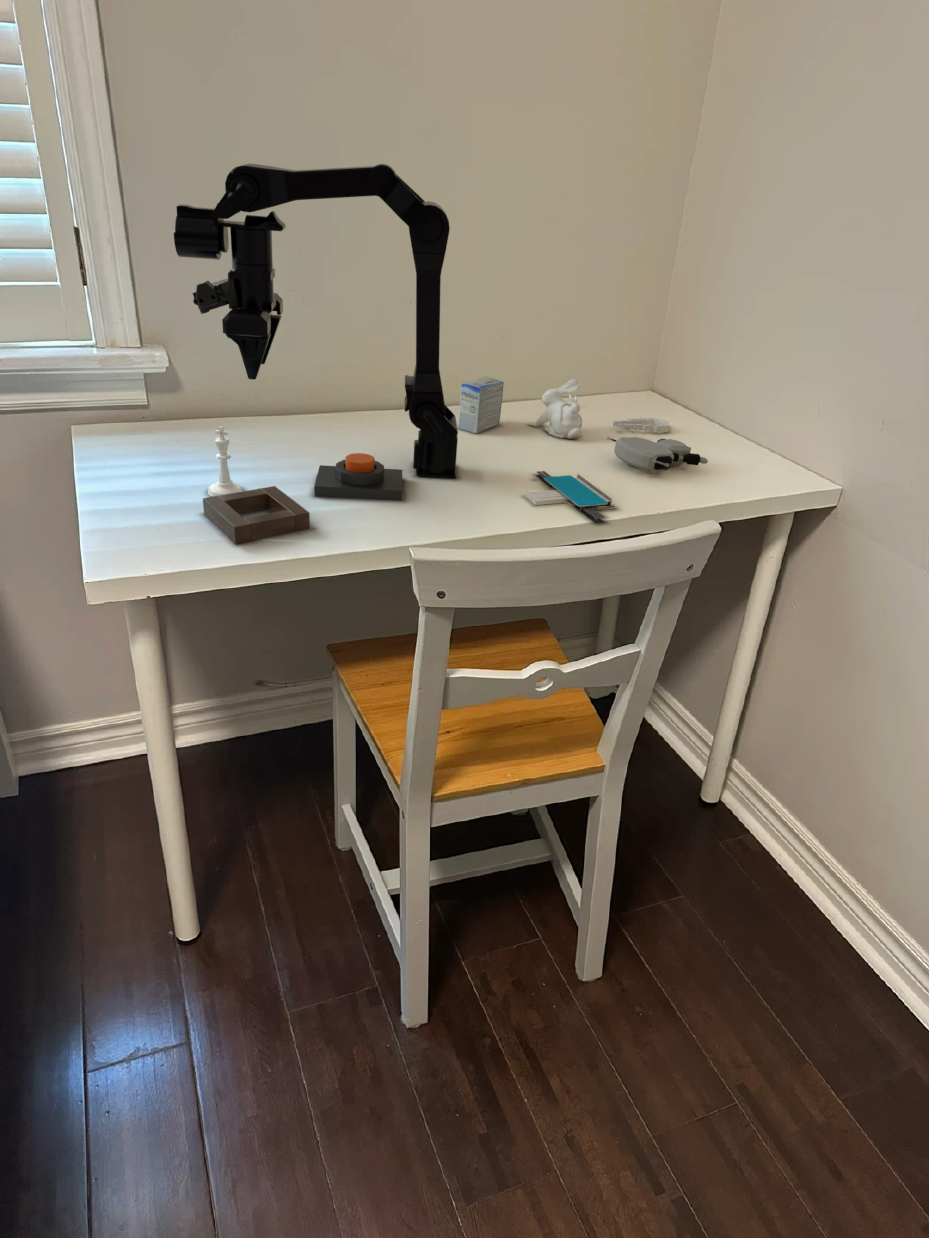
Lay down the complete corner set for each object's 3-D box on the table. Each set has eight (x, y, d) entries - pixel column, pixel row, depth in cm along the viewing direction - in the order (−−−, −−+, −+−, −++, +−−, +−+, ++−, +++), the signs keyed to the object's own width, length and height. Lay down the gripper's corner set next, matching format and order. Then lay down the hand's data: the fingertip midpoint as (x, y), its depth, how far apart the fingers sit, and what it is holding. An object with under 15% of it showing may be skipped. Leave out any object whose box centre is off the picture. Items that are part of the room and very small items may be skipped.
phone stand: (503, 478, 141) (504, 468, 140) (566, 473, 146) (568, 463, 145) (560, 527, 125) (561, 516, 125) (629, 519, 130) (631, 509, 129)
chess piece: (234, 501, 125) (230, 434, 120) (202, 496, 125) (196, 429, 120) (248, 489, 129) (244, 424, 124) (217, 484, 130) (212, 419, 125)
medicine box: (481, 420, 168) (485, 375, 163) (500, 425, 166) (504, 380, 161) (457, 428, 162) (460, 382, 158) (476, 434, 160) (480, 388, 156)
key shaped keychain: (622, 436, 166) (623, 427, 165) (608, 428, 170) (610, 419, 169) (677, 432, 171) (679, 423, 170) (663, 424, 175) (664, 416, 174)
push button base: (402, 479, 137) (402, 458, 135) (401, 501, 129) (402, 479, 128) (319, 475, 136) (319, 454, 134) (314, 497, 128) (314, 474, 126)
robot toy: (661, 455, 160) (599, 458, 152) (667, 431, 158) (604, 433, 150) (708, 477, 151) (645, 482, 144) (715, 453, 149) (651, 456, 141)
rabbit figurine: (527, 424, 168) (533, 374, 163) (558, 420, 171) (564, 372, 167) (565, 443, 159) (573, 391, 154) (596, 439, 163) (604, 388, 158)
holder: (275, 501, 126) (274, 485, 124) (310, 529, 118) (309, 512, 117) (203, 515, 120) (202, 498, 118) (235, 544, 112) (234, 527, 111)
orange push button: (375, 464, 133) (375, 453, 132) (374, 474, 129) (374, 463, 129) (346, 463, 133) (346, 452, 132) (344, 473, 129) (344, 462, 128)
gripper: (208, 249, 131) (214, 353, 139) (180, 268, 115) (189, 384, 123) (282, 255, 132) (284, 358, 140) (265, 274, 116) (268, 389, 124)
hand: (256, 371), depth 132 cm, fingers open, 9 cm apart
